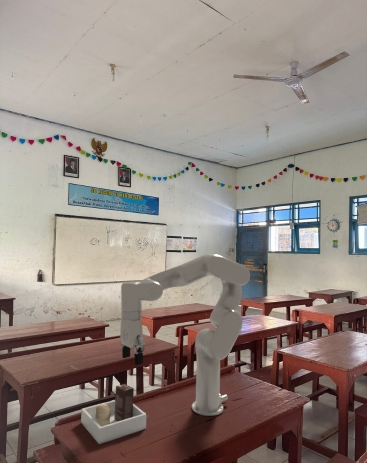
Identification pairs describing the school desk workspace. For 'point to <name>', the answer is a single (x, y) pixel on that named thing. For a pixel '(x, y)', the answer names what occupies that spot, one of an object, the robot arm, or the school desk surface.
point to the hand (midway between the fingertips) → (132, 360)
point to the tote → (112, 423)
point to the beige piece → (103, 414)
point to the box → (123, 402)
